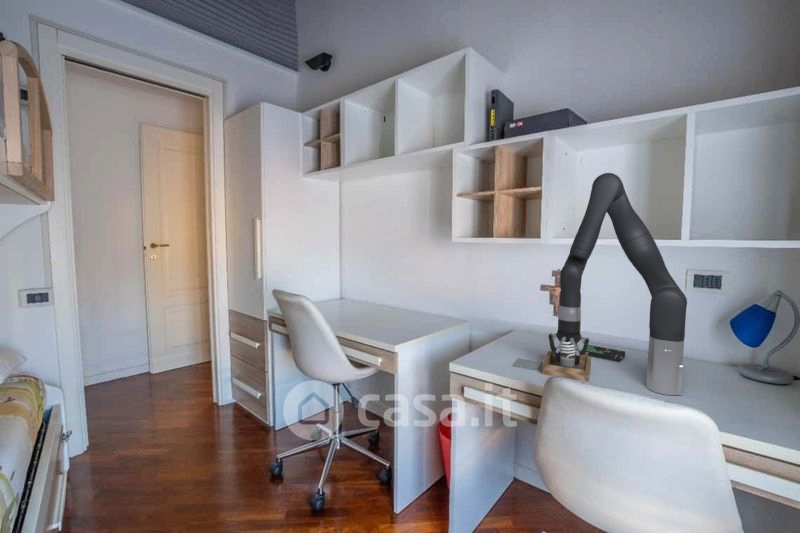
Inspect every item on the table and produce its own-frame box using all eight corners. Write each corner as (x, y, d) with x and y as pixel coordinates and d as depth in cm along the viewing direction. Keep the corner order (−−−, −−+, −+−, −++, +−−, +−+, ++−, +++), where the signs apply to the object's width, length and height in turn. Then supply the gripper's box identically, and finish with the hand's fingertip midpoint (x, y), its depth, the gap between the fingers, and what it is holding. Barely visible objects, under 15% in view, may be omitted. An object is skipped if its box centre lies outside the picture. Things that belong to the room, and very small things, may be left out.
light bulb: (575, 374, 137) (577, 342, 136) (558, 372, 139) (560, 340, 138) (574, 369, 143) (576, 338, 142) (558, 367, 145) (560, 336, 144)
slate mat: (541, 363, 149) (541, 361, 149) (537, 370, 142) (538, 368, 141) (518, 359, 154) (518, 358, 154) (513, 366, 146) (513, 364, 146)
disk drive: (625, 357, 159) (586, 350, 169) (625, 351, 159) (587, 343, 168) (620, 364, 151) (580, 355, 161) (620, 357, 151) (580, 349, 161)
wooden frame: (590, 368, 144) (591, 352, 143) (588, 381, 131) (589, 364, 130) (548, 361, 151) (548, 347, 151) (542, 374, 138) (543, 357, 137)
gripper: (591, 318, 139) (589, 363, 141) (549, 314, 146) (548, 357, 147) (591, 322, 133) (588, 370, 134) (547, 317, 139) (545, 363, 141)
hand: (567, 363), depth 141 cm, fingers closed on light bulb, 5 cm apart
